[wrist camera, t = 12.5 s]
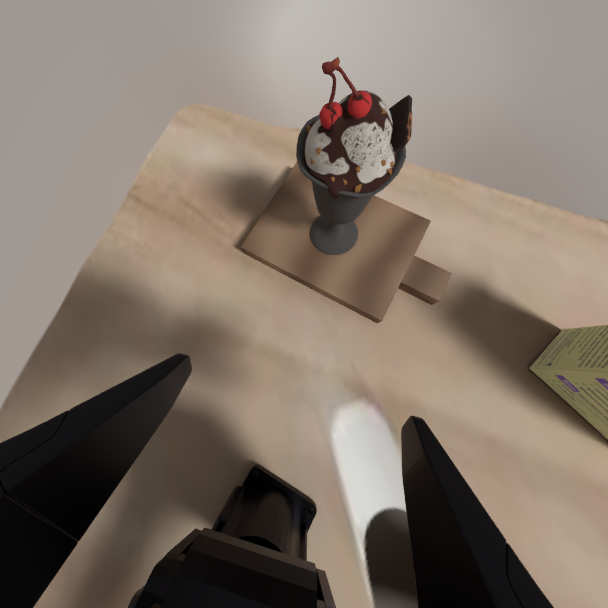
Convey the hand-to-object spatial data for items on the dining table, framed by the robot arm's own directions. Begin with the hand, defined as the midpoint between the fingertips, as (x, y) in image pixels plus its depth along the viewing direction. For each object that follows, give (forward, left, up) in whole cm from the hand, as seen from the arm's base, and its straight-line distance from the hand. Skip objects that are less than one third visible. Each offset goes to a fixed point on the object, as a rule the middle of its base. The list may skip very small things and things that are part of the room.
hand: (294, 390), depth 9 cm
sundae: (+4, -14, -12) cm, 19 cm away
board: (+2, -14, -14) cm, 19 cm away
